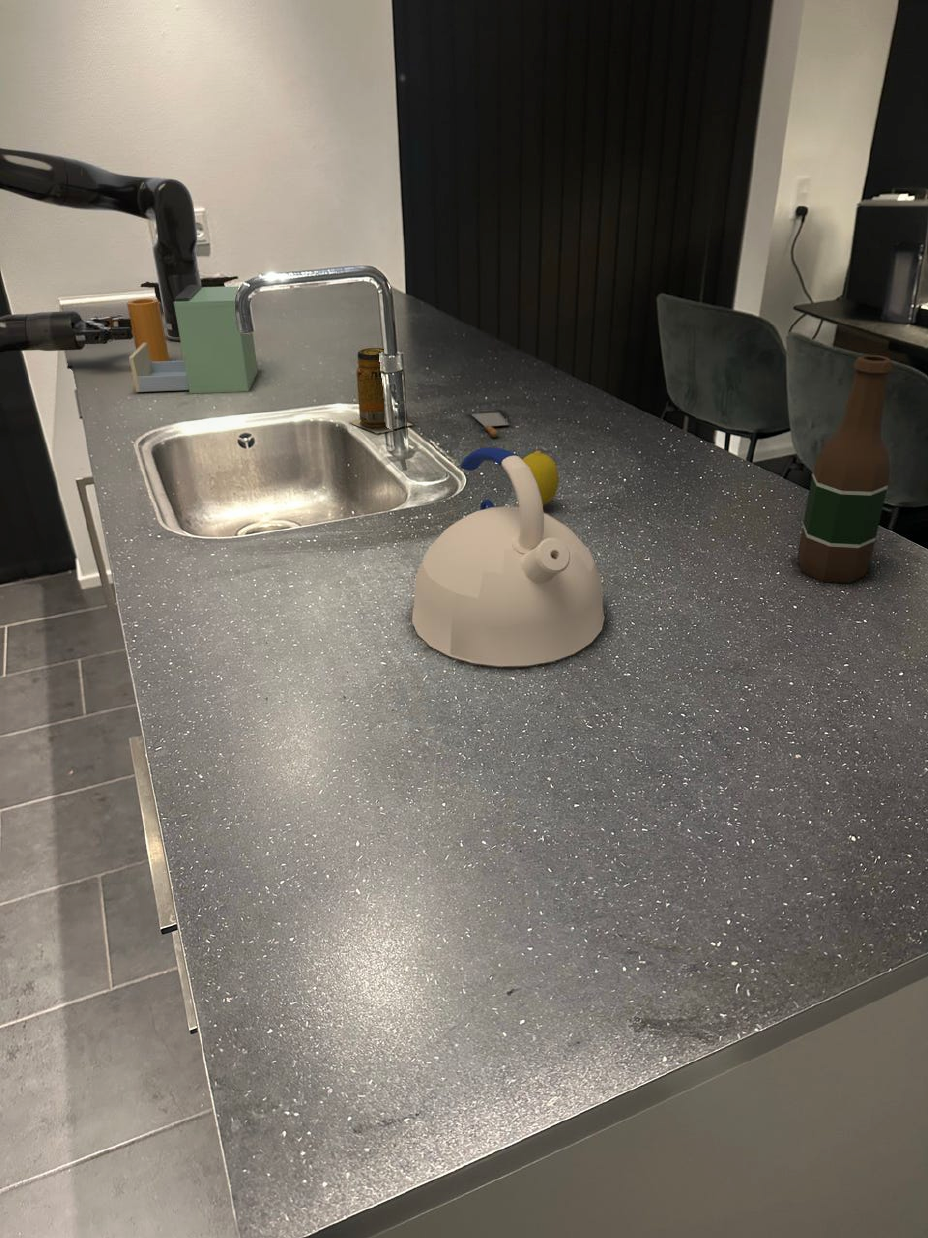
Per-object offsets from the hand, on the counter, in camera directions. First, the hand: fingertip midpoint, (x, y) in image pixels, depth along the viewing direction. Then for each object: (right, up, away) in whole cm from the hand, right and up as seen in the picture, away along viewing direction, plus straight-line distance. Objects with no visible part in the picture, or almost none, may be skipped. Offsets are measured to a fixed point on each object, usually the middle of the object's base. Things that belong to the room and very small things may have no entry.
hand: (137, 328), depth 183 cm
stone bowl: (-5, +23, +55) cm, 60 cm away
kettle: (+71, -59, -87) cm, 127 cm away
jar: (+2, -7, +4) cm, 8 cm away
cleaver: (+71, -27, -33) cm, 83 cm away
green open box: (+20, -13, -7) cm, 25 cm away
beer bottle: (+108, -53, -79) cm, 145 cm away
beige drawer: (+9, -13, -8) cm, 18 cm away
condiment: (+52, -27, -31) cm, 66 cm away
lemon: (+76, -45, -63) cm, 108 cm away
